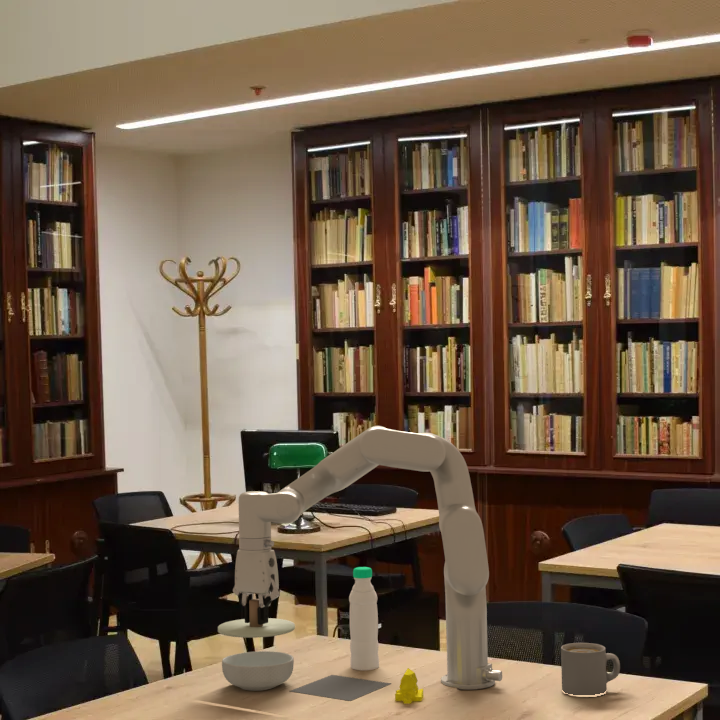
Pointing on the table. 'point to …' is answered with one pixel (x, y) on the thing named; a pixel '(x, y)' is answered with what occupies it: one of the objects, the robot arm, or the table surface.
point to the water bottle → (363, 621)
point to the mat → (340, 687)
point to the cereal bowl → (258, 669)
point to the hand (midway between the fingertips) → (256, 622)
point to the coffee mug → (586, 668)
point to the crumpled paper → (409, 688)
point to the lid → (255, 625)
